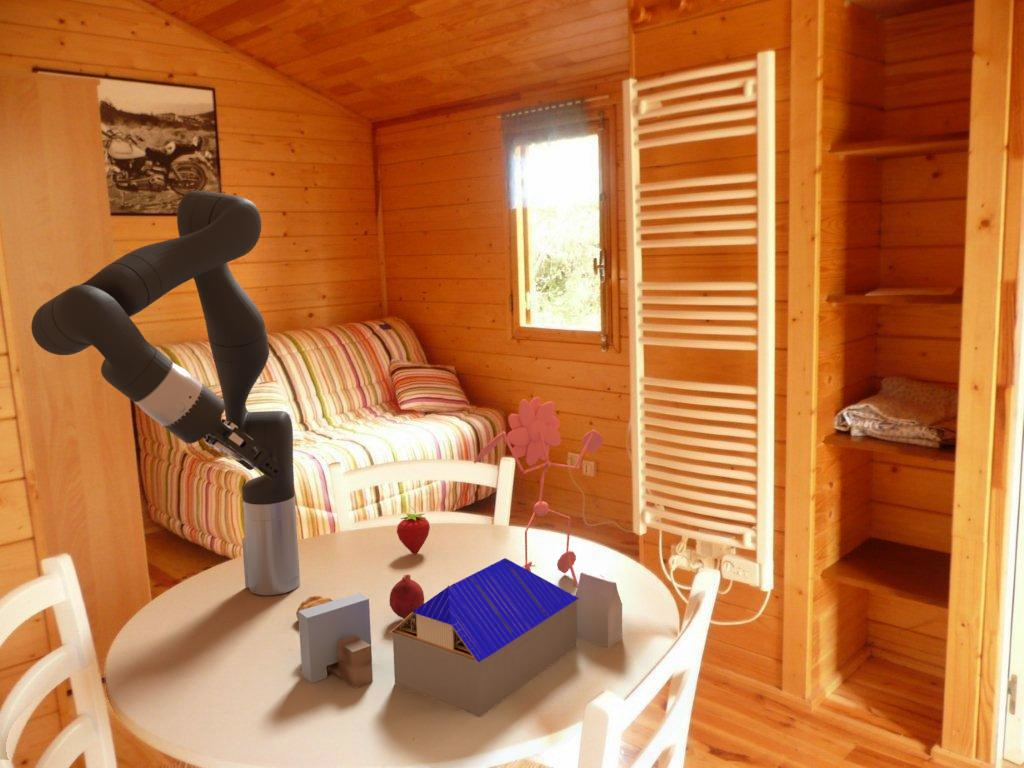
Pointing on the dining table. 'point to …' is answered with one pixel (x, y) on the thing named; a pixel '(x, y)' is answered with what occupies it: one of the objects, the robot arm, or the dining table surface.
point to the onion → (406, 597)
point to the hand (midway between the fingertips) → (266, 470)
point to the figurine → (540, 456)
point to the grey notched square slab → (330, 632)
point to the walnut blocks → (353, 661)
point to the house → (484, 637)
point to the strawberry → (413, 531)
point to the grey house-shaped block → (598, 610)
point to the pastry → (312, 603)
